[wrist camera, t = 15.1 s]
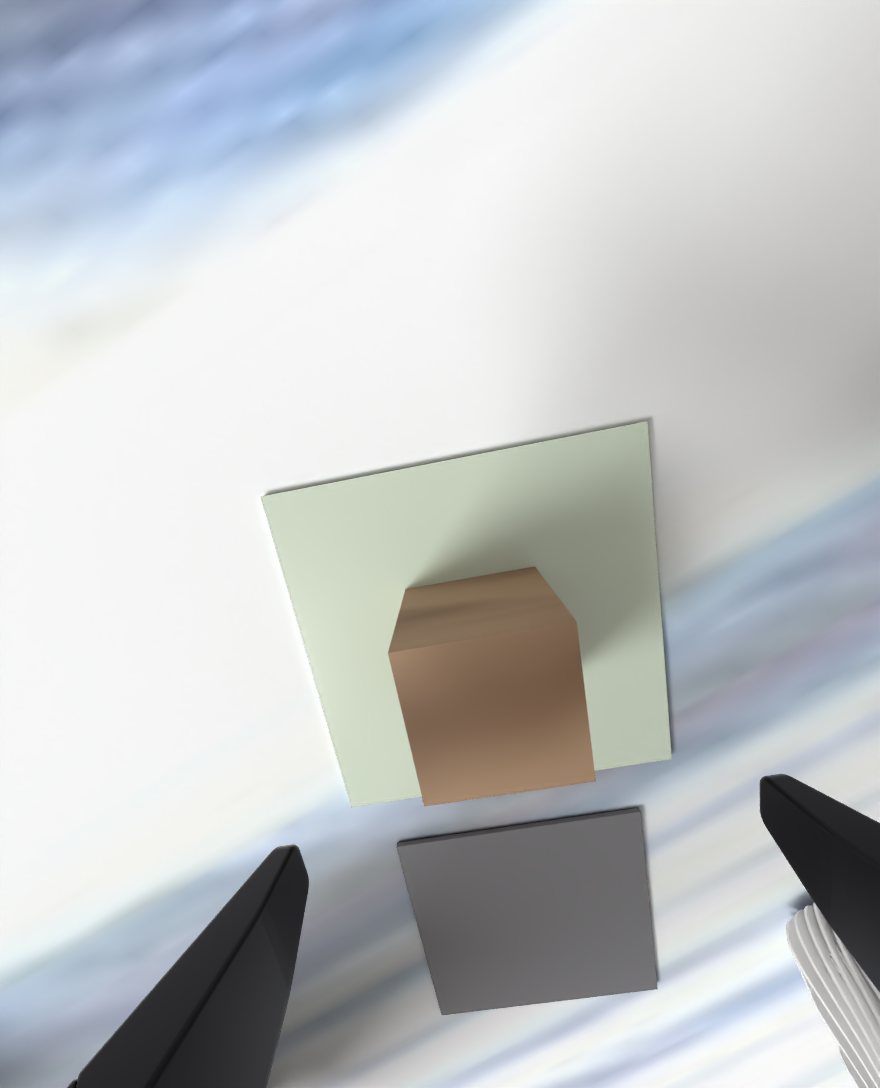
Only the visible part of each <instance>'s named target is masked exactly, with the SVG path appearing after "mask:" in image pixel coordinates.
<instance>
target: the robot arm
mask: <svg viewBox="0 0 880 1088" xmlns="http://www.w3.org/2000/svg"><path fill="white" fill-rule="evenodd" d="M760 813H761V817H762V820H763V822H764V824H765V826H766V828H767V829H768V831H769V832H770V834H771V835H772V837H773V839H774V840H775V842H776V843H777V845H778V846H779V848H780V850H781V851H782V853H783V854H784V856H785V857H786V859H787V860H788V862H789V864H790V865H791V867H792V868H793V870H794V871H795V873H796V874H797V876H798V878H799V879H800V881H801V882H802V884H803V885H804V887H805V889H806V890H807V892H808V893H809V895H810V896H811V898H812V899H813V901H814V903H815V904H816V906H817V907H818V909H819V910H820V912H821V913H822V915H823V916H824V918H825V919H826V921H827V922H828V924H829V925H830V927H831V928H832V929H833V931H834V932H835V934H836V935H837V936H838V938H839V939H840V940H841V942H842V943H843V945H844V946H845V947H846V949H847V950H848V951H849V953H850V954H851V955H852V957H853V958H854V959H855V961H856V962H857V963H858V965H859V966H860V967H861V969H862V970H863V971H864V973H865V974H866V975H867V977H868V978H869V979H870V981H871V982H872V983H873V985H874V986H875V987H876V989H877V990H878V991H879V993H880V823H879V822H877V821H875V820H873V819H871V818H869V817H867V816H865V815H863V814H861V813H859V812H858V811H856V810H854V809H852V808H850V807H848V806H846V805H844V804H842V803H840V802H838V801H837V800H835V799H833V798H831V797H829V796H827V795H825V794H823V793H821V792H819V791H817V790H815V789H814V788H812V787H810V786H808V785H806V784H804V783H802V782H800V781H798V780H796V779H794V778H793V777H790V776H788V775H785V774H778V775H771V776H764V777H762V778H761V780H760ZM308 887H309V879H308V873H307V870H306V867H305V865H304V862H303V859H302V856H301V853H300V850H299V848H298V847H297V846H296V845H286V846H280V847H277V848H275V849H274V850H273V851H272V852H271V853H270V854H269V855H268V857H267V858H266V859H265V860H264V861H263V862H262V863H261V865H260V866H259V867H258V868H257V869H256V870H255V872H254V873H253V874H252V875H251V876H250V877H249V878H248V880H247V881H246V882H245V883H244V884H243V885H242V886H241V888H240V889H239V890H238V891H237V892H236V893H235V895H234V896H233V897H232V898H231V899H230V900H229V901H228V903H227V904H226V905H225V906H224V907H223V908H222V910H221V911H220V912H219V913H218V914H217V915H216V916H215V918H214V919H213V920H212V921H211V922H210V923H209V925H208V926H207V927H206V928H205V929H204V930H203V931H202V933H201V934H200V935H199V936H198V937H197V938H196V940H195V941H194V942H193V943H192V944H191V945H190V946H189V948H188V949H187V950H186V951H185V952H184V953H183V954H182V956H181V957H180V958H179V959H178V960H177V961H176V963H175V964H174V965H173V966H172V967H171V968H170V969H169V971H168V972H167V973H166V974H165V975H164V976H163V978H162V979H161V980H160V981H159V982H158V983H157V984H156V986H155V987H154V988H153V989H152V990H151V991H150V993H149V994H148V995H147V996H146V997H145V998H144V999H143V1001H142V1002H141V1003H140V1004H139V1005H138V1006H137V1008H136V1009H135V1010H134V1011H133V1012H132V1013H131V1014H130V1016H129V1017H128V1018H127V1019H126V1020H125V1021H124V1022H123V1024H122V1025H121V1026H120V1027H119V1028H118V1029H117V1031H116V1032H115V1033H114V1034H113V1035H112V1036H111V1037H110V1039H109V1040H108V1041H107V1042H106V1043H105V1044H104V1046H103V1047H102V1048H101V1049H100V1050H99V1051H98V1052H97V1054H96V1055H95V1056H94V1057H93V1058H92V1059H91V1061H90V1062H89V1063H88V1064H87V1065H86V1066H85V1067H84V1069H83V1070H82V1071H81V1072H80V1074H79V1076H78V1080H77V1079H76V1080H73V1081H72V1082H71V1083H70V1084H69V1086H68V1087H67V1088H266V1087H267V1083H268V1079H269V1075H270V1071H271V1067H272V1063H273V1059H274V1055H275V1051H276V1047H277V1044H278V1040H279V1036H280V1032H281V1028H282V1024H283V1020H284V1016H285V1012H286V1008H287V1004H288V999H289V995H290V991H291V985H292V980H293V975H294V969H295V964H296V958H297V952H298V946H299V940H300V935H301V929H302V923H303V917H304V912H305V906H306V900H307V894H308Z"/></svg>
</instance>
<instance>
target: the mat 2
mask: <svg viewBox="0 0 880 1088" xmlns="http://www.w3.org/2000/svg"><path fill="white" fill-rule="evenodd" d="M397 850H398V854H399V858H400V862H401V865H402V869H403V873H404V876H405V880H406V884H407V888H408V891H409V895H410V899H411V902H412V906H413V910H414V914H415V917H416V921H417V925H418V928H419V932H420V936H421V940H422V943H423V947H424V951H425V955H426V958H427V962H428V966H429V969H430V973H431V977H432V981H433V984H434V988H435V992H436V995H437V999H438V1003H439V1007H440V1010H441V1014H442V1015H448V1014H456V1013H464V1012H472V1011H481V1010H489V1009H497V1008H506V1007H514V1006H522V1005H530V1004H539V1003H547V1002H555V1001H563V1000H572V999H580V998H588V997H597V996H605V995H613V994H621V993H630V992H638V991H646V990H654V989H657V979H656V968H655V958H654V947H653V937H652V926H651V916H650V905H649V895H648V884H647V874H646V863H645V853H644V843H643V832H642V822H641V812H640V810H639V808H634V809H627V810H620V811H613V812H606V813H599V814H593V815H586V816H579V817H572V818H565V819H558V820H551V821H544V822H537V823H530V824H523V825H517V826H510V827H503V828H496V829H489V830H482V831H475V832H468V833H461V834H454V835H448V836H441V837H434V838H427V839H420V840H413V841H406V842H399V843H397Z"/></svg>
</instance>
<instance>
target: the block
mask: <svg viewBox="0 0 880 1088" xmlns="http://www.w3.org/2000/svg"><path fill="white" fill-rule="evenodd" d="M388 656H389V660H390V664H391V669H392V673H393V677H394V681H395V685H396V690H397V694H398V698H399V702H400V706H401V711H402V715H403V719H404V723H405V727H406V732H407V736H408V740H409V744H410V748H411V752H412V757H413V761H414V765H415V769H416V773H417V778H418V782H419V786H420V790H421V794H422V799H423V803H424V806H430V805H437V804H443V803H450V802H457V801H464V800H471V799H478V798H484V797H491V796H498V795H505V794H512V793H519V792H525V791H532V790H539V789H546V788H553V787H560V786H566V785H573V784H580V783H587V782H594V781H596V779H595V770H594V762H593V754H592V745H591V737H590V729H589V720H588V712H587V703H586V695H585V687H584V678H583V670H582V662H581V653H580V645H579V636H578V628H577V621H576V620H575V619H574V617H573V616H572V615H571V613H570V612H569V611H568V609H567V608H566V607H565V605H564V604H563V603H562V601H561V600H560V599H559V597H558V596H557V595H556V594H555V592H554V591H553V590H552V588H551V587H550V586H549V584H548V583H547V582H546V580H545V579H544V578H543V576H542V575H541V574H540V572H539V571H538V570H537V568H536V567H535V566H534V567H528V568H523V569H517V570H511V571H506V572H500V573H494V574H488V575H483V576H477V577H471V578H466V579H460V580H454V581H449V582H443V583H437V584H431V585H426V586H420V587H414V588H409V589H405V592H404V596H403V600H402V603H401V607H400V610H399V614H398V618H397V621H396V625H395V629H394V632H393V636H392V640H391V643H390V647H389V651H388Z"/></svg>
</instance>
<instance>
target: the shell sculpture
mask: <svg viewBox="0 0 880 1088" xmlns="http://www.w3.org/2000/svg"><path fill="white" fill-rule="evenodd" d="M786 935H787V941H788V944H789V947H790V950H791V952H792V955H793V957H794V959H795V962H796V964H797V966H798V968H799V970H800V972H801V974H802V976H803V979H804V981H805V983H806V986H807V988H808V990H809V993H810V995H811V998H812V1000H813V1003H814V1005H815V1007H816V1009H817V1010H818V1012H819V1014H820V1016H821V1017H822V1019H823V1021H824V1022H825V1024H826V1025H827V1027H828V1029H829V1030H830V1032H831V1033H832V1035H833V1036H834V1038H835V1040H836V1041H837V1043H838V1044H839V1052H840V1056H841V1058H842V1061H843V1063H844V1065H845V1067H846V1069H847V1070H848V1072H849V1074H850V1076H851V1077H852V1079H853V1081H854V1082H855V1084H856V1085H857V1087H858V1088H880V993H879V991H878V990H877V989H876V987H875V986H874V985H873V983H872V982H871V981H870V979H869V978H868V977H867V975H866V974H865V973H864V971H863V970H862V969H861V967H860V966H859V965H858V963H857V962H856V961H855V959H854V958H853V957H852V955H851V954H850V953H849V951H848V950H847V949H846V947H845V946H844V945H843V943H842V942H841V940H840V939H839V938H838V936H837V935H836V934H835V932H834V931H833V929H832V928H831V927H830V925H829V924H828V922H827V921H826V919H825V918H824V916H823V915H822V913H821V912H820V910H819V909H818V907H817V906H816V904H815V903H813V905H808V906H806V907H805V908H804V910H799V911H797V912H796V914H795V916H793V917H791V918H790V919H789V920H788V921H787V924H786Z"/></svg>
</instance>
